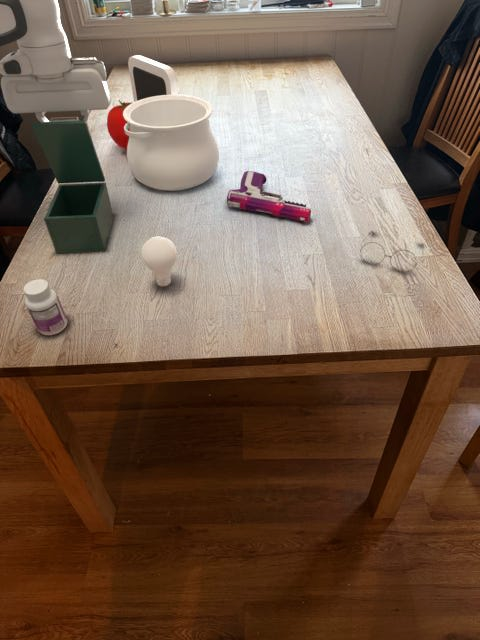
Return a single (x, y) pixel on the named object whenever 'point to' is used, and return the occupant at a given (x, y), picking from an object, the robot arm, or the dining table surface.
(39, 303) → the pill bottle
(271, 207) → the toy gun
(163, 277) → the light bulb
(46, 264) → the dining table surface
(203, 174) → the pot
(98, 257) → the dining table surface
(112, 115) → the tomato
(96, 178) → the lid
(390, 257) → the eyeglasses
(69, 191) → the chest
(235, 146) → the dining table surface
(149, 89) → the computer
